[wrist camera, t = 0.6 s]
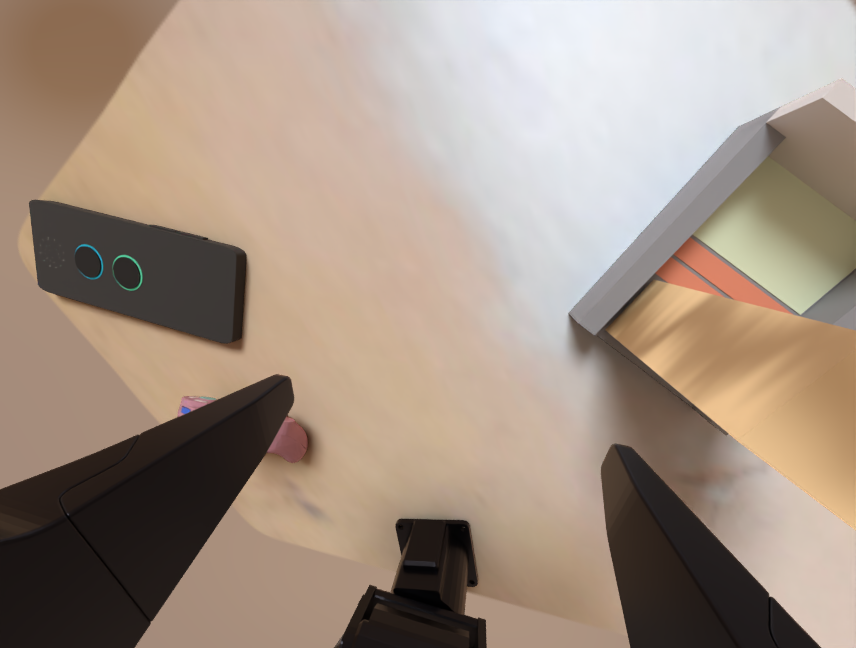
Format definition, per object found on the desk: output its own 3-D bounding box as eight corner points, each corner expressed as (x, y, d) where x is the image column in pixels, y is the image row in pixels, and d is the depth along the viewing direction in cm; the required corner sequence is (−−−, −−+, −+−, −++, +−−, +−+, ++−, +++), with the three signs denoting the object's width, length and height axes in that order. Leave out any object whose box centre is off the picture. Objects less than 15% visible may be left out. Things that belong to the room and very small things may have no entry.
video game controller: (322, 410, 31) (281, 413, 24) (308, 462, 30) (262, 479, 23) (227, 388, 33) (164, 384, 26) (211, 436, 32) (142, 446, 25)
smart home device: (25, 195, 28) (235, 247, 26) (51, 197, 30) (251, 247, 27) (36, 290, 31) (230, 348, 28) (59, 288, 32) (245, 342, 30)
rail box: (698, 411, 23) (764, 467, 17) (568, 313, 23) (591, 336, 17) (898, 244, 19) (1072, 247, 13) (738, 126, 19) (841, 77, 13)
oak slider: (693, 397, 21) (937, 592, 10) (604, 329, 22) (737, 440, 10) (748, 350, 20) (1106, 508, 8) (654, 279, 20) (874, 335, 8)
